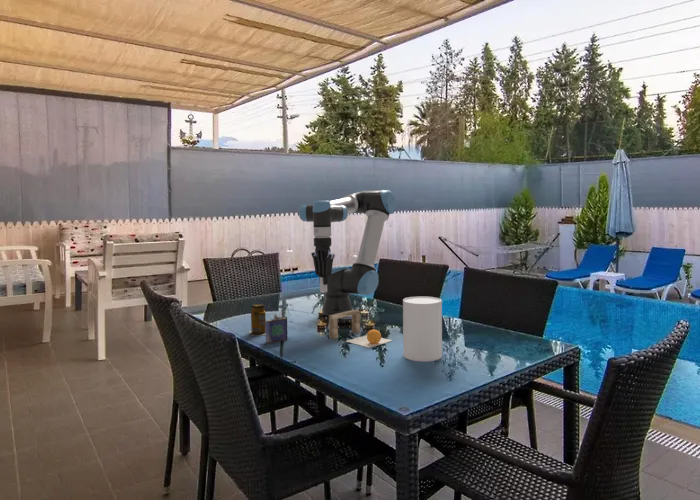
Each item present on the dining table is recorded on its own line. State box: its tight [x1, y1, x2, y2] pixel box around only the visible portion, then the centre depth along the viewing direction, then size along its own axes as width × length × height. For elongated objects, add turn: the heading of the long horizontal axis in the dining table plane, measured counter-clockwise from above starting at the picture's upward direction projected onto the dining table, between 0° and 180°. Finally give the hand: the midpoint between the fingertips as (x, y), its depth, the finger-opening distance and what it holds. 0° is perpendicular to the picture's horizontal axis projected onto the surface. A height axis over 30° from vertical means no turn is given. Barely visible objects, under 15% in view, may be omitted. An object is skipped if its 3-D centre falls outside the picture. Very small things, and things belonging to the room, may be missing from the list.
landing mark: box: [345, 335, 393, 349], centre depth 205 cm, size 13×13×1 cm
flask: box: [265, 313, 288, 344], centre depth 207 cm, size 9×3×11 cm, turn 121°
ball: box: [367, 329, 382, 344], centre depth 201 cm, size 6×6×6 cm
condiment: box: [248, 303, 267, 337], centre depth 220 cm, size 7×8×12 cm
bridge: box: [328, 309, 361, 340], centre depth 215 cm, size 3×14×9 cm, turn 133°
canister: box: [402, 295, 443, 362], centre depth 184 cm, size 14×14×20 cm
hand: (323, 291), depth 223 cm, fingers closed
